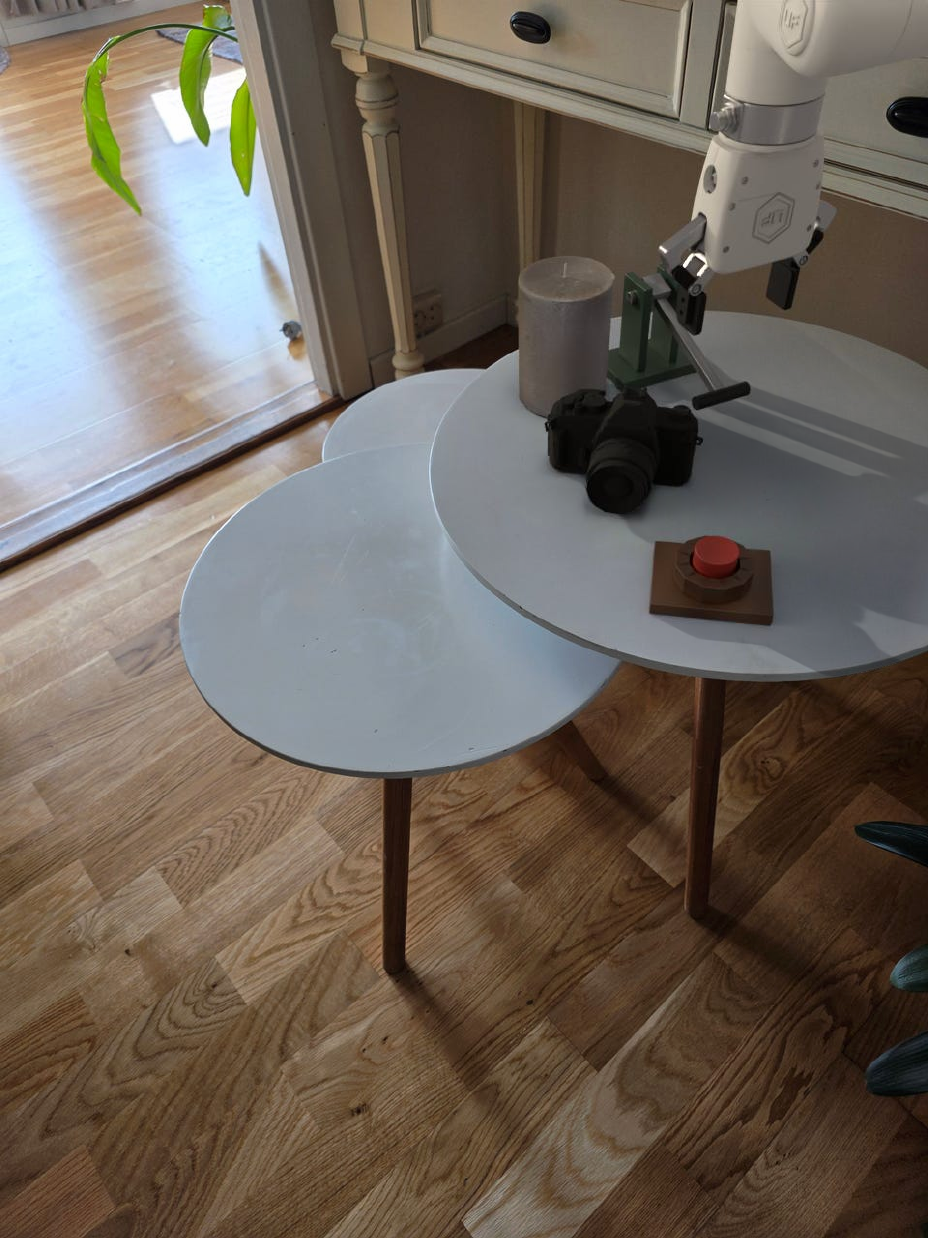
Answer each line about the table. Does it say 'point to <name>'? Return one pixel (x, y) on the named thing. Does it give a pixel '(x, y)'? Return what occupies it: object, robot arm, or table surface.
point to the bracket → (646, 338)
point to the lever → (692, 350)
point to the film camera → (621, 445)
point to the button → (715, 557)
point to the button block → (711, 586)
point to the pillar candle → (563, 329)
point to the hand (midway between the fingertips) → (733, 315)
